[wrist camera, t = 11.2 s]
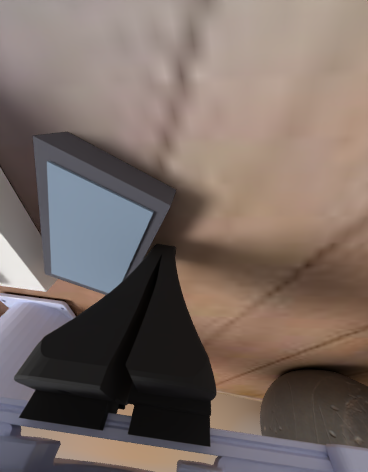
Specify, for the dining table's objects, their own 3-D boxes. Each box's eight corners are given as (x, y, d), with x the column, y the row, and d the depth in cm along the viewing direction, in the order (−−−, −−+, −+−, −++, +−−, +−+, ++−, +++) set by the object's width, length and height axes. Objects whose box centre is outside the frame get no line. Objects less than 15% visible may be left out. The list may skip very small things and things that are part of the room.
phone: (132, 276, 15) (121, 302, 13) (66, 252, 14) (43, 275, 12) (177, 187, 9) (170, 207, 7) (72, 131, 8) (29, 135, 6)
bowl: (415, 373, 22) (600, 597, 12) (309, 392, 32) (357, 516, 22) (306, 343, 19) (419, 592, 9) (230, 374, 30) (245, 505, 20)
